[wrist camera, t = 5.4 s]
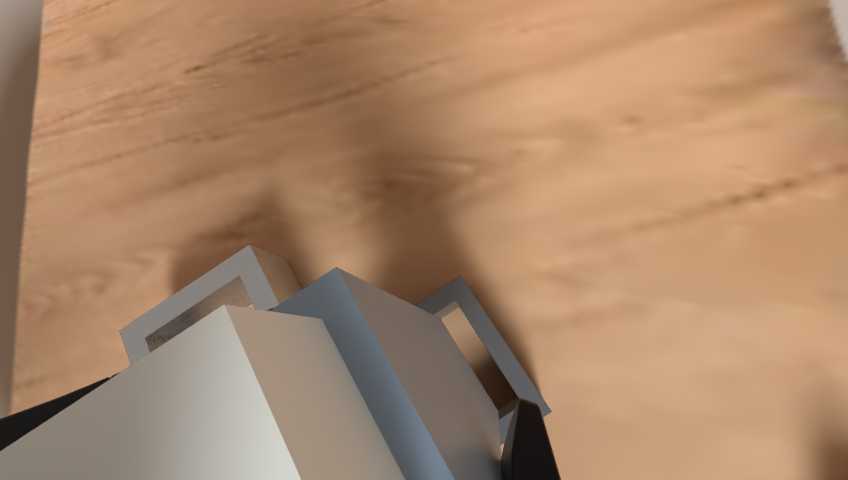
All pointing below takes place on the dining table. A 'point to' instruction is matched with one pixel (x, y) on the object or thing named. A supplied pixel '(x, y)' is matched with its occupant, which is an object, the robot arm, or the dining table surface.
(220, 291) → the socket block
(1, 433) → the robot arm
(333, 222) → the dining table surface
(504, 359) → the frame
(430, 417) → the plug
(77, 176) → the dining table surface
